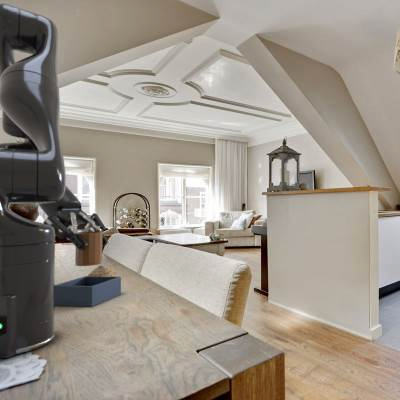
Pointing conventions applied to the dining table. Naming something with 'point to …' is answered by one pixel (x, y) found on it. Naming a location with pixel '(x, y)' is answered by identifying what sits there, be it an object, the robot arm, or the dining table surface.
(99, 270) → the seashell
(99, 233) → the brown cup
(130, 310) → the dining table surface
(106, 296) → the bin
